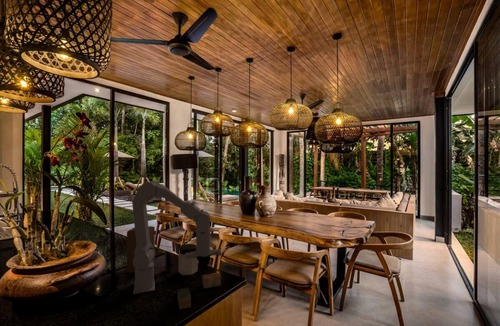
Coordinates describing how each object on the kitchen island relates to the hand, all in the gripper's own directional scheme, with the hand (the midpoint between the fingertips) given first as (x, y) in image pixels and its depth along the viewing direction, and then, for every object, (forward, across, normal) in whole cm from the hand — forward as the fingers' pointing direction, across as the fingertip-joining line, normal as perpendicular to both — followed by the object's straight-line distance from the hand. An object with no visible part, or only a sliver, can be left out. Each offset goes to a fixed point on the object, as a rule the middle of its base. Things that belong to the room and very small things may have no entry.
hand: (203, 273), depth 106 cm
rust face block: (+3, 0, 0) cm, 3 cm away
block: (+5, -25, +28) cm, 38 cm away
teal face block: (+3, -9, -7) cm, 12 cm away
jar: (+5, -4, +17) cm, 18 cm away
